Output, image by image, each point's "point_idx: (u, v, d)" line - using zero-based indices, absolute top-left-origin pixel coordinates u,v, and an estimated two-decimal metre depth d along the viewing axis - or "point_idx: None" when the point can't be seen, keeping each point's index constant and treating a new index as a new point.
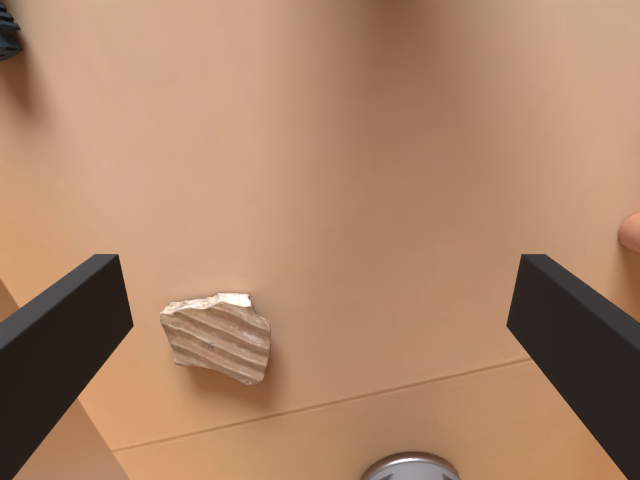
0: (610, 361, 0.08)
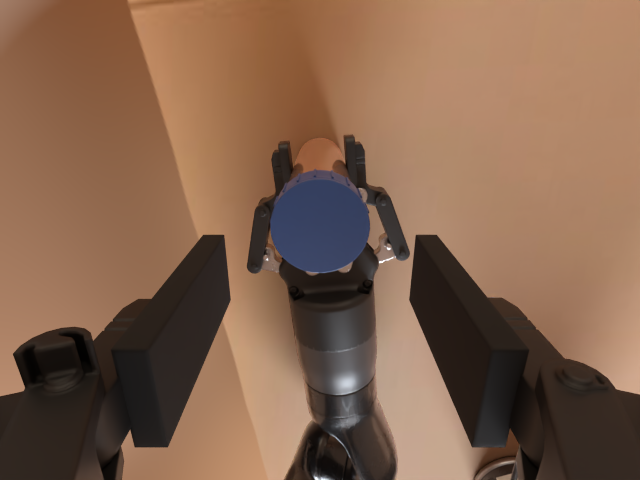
0: (451, 317, 0.10)
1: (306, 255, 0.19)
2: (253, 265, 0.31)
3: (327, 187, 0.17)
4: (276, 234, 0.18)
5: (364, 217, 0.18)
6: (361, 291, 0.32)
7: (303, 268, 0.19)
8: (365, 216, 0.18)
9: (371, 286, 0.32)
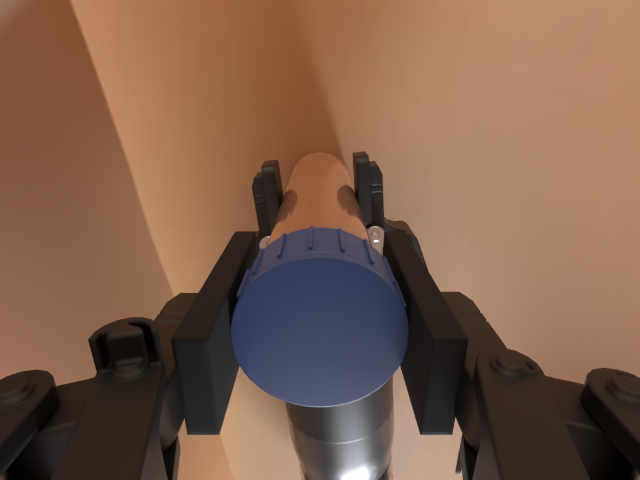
0: (407, 310, 0.10)
1: (296, 380, 0.11)
2: None
3: (333, 271, 0.09)
4: (241, 348, 0.10)
5: (400, 321, 0.10)
6: None
7: (291, 400, 0.11)
8: (402, 319, 0.10)
9: None
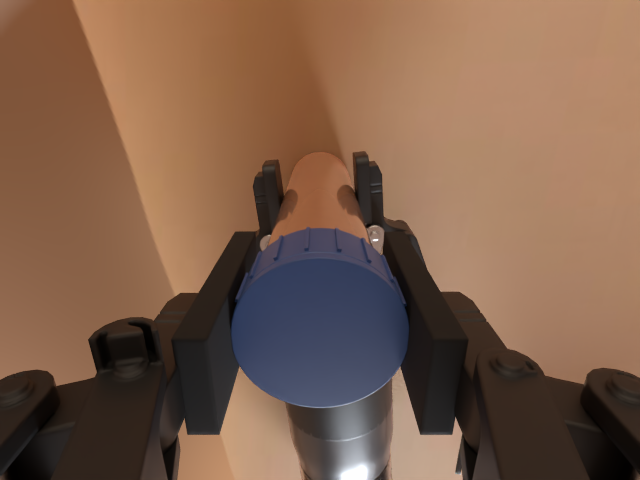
0: (407, 310, 0.10)
1: (378, 333, 0.10)
2: None
3: (251, 363, 0.10)
4: (368, 387, 0.11)
5: (256, 290, 0.10)
6: None
7: (405, 325, 0.10)
8: (253, 290, 0.10)
9: None
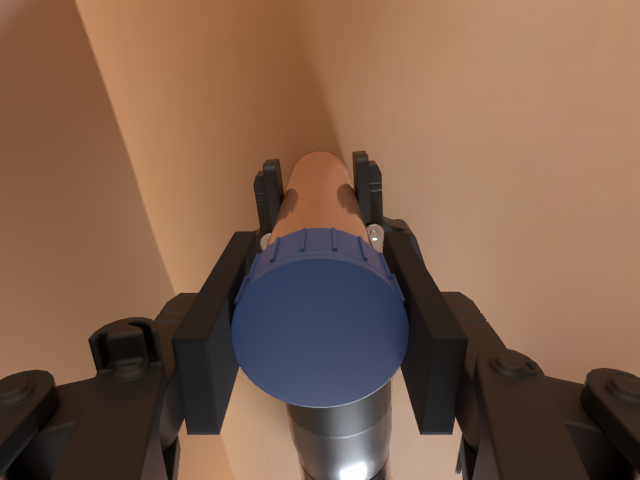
0: (407, 310, 0.10)
1: (280, 300, 0.10)
2: None
3: (380, 374, 0.11)
4: (344, 271, 0.09)
5: (306, 402, 0.11)
6: None
7: (256, 284, 0.10)
8: (307, 403, 0.11)
9: None
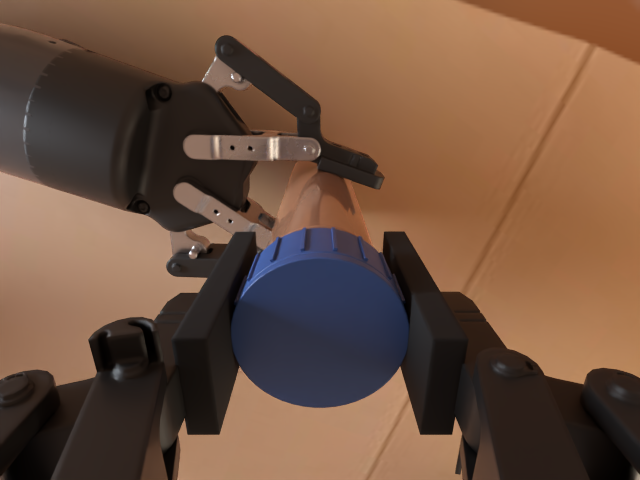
0: (407, 310, 0.10)
1: (280, 300, 0.10)
2: (231, 50, 0.18)
3: (380, 374, 0.11)
4: (345, 271, 0.09)
5: (306, 402, 0.11)
6: None
7: (257, 284, 0.10)
8: (307, 403, 0.11)
9: (136, 210, 0.21)
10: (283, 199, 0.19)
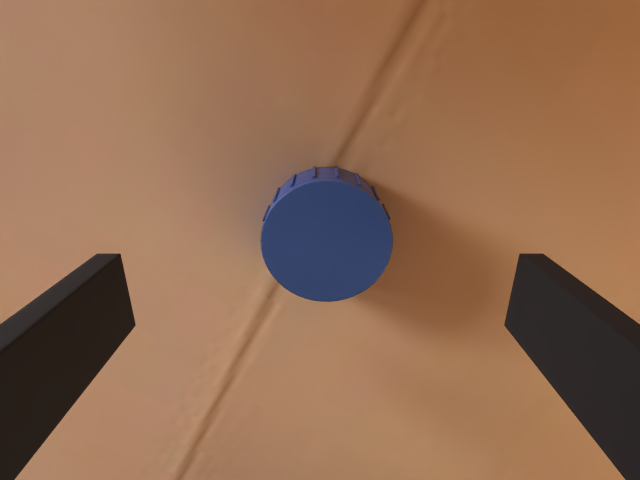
0: (607, 360, 0.08)
1: (298, 214, 0.13)
2: None
3: (371, 273, 0.14)
4: (344, 191, 0.13)
5: (316, 296, 0.15)
6: None
7: (281, 202, 0.13)
8: (317, 297, 0.15)
9: None
10: None
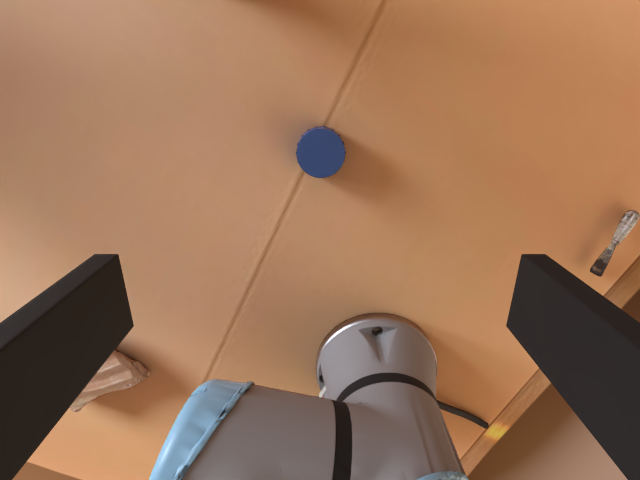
0: (610, 361, 0.08)
1: (310, 141, 0.37)
2: None
3: (337, 165, 0.38)
4: (327, 132, 0.37)
5: (317, 175, 0.38)
6: None
7: (304, 136, 0.37)
8: (317, 176, 0.38)
9: None
10: None
